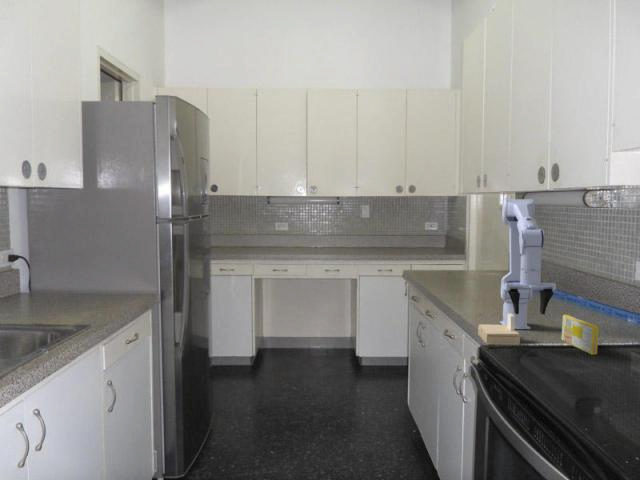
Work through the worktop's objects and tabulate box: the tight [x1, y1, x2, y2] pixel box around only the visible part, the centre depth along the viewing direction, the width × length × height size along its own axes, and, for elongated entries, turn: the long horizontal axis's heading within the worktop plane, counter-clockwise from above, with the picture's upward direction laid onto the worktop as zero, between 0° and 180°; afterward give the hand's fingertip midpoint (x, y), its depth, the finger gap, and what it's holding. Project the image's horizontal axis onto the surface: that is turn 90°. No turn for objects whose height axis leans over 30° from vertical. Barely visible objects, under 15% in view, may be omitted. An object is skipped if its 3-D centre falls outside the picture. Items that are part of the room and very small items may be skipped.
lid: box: [478, 313, 520, 336], centre depth 173 cm, size 12×10×5 cm
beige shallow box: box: [477, 326, 521, 346], centre depth 173 cm, size 12×10×3 cm
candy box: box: [561, 314, 600, 356], centre depth 165 cm, size 16×2×8 cm, turn 6°
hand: (529, 313), depth 166 cm, fingers open, 7 cm apart
